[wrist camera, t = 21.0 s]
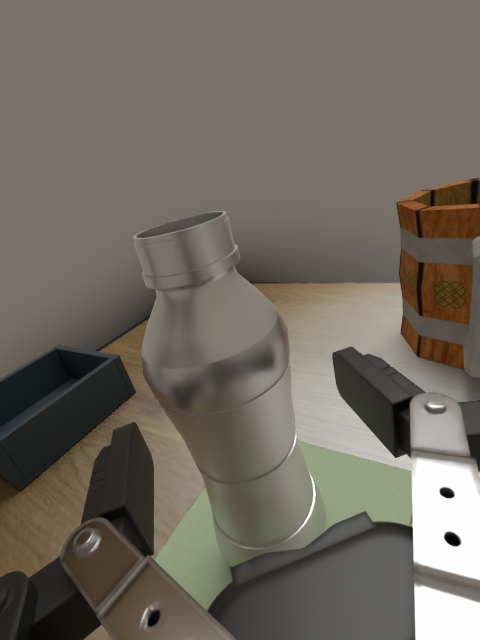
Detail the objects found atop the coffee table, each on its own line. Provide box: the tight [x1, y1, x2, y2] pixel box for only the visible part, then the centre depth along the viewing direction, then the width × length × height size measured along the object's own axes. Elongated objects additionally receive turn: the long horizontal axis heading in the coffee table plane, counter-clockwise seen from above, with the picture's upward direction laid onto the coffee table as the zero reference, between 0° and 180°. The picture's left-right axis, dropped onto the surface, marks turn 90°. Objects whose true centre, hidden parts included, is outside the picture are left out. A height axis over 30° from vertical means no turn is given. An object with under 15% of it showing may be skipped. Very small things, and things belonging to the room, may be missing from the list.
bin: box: [0, 345, 136, 491], centre depth 39 cm, size 15×14×6 cm
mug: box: [396, 178, 480, 379], centre depth 31 cm, size 20×14×15 cm
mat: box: [154, 441, 413, 611], centre depth 21 cm, size 16×14×1 cm
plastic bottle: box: [133, 211, 326, 567], centre depth 17 cm, size 6×7×20 cm
